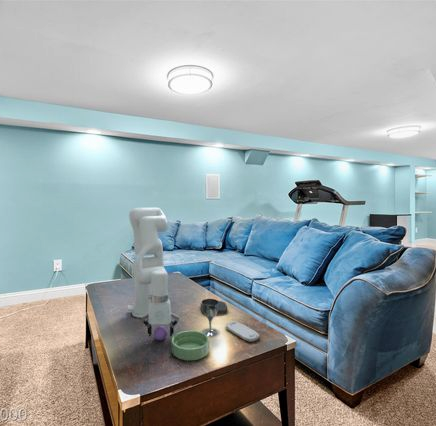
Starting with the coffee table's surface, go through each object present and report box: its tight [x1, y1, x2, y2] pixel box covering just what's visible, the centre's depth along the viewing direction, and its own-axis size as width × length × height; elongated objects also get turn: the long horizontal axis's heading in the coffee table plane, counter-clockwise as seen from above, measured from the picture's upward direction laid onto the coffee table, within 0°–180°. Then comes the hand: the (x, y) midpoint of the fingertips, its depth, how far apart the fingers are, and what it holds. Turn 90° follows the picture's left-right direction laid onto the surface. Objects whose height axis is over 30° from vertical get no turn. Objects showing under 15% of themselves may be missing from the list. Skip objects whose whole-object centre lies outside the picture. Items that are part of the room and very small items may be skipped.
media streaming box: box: [200, 300, 228, 315], centre depth 157 cm, size 15×15×3 cm
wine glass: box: [201, 298, 219, 337], centre depth 129 cm, size 8×8×15 cm
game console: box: [225, 321, 260, 343], centre depth 128 cm, size 18×2×8 cm
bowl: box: [171, 329, 210, 361], centre depth 114 cm, size 16×16×5 cm
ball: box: [153, 325, 168, 341], centre depth 123 cm, size 6×6×6 cm
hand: (160, 335), depth 123 cm, fingers open, 9 cm apart
